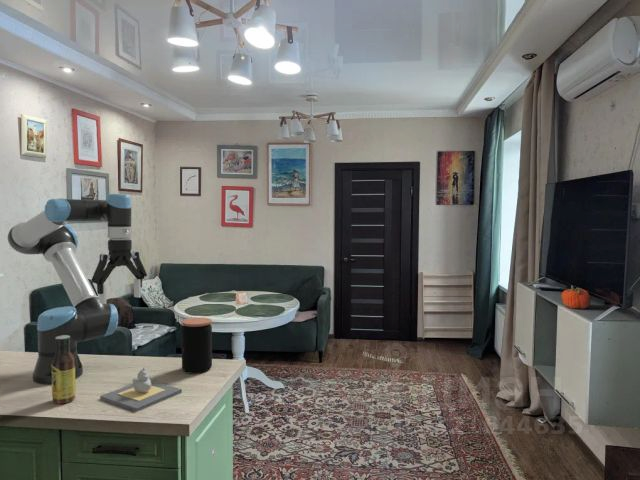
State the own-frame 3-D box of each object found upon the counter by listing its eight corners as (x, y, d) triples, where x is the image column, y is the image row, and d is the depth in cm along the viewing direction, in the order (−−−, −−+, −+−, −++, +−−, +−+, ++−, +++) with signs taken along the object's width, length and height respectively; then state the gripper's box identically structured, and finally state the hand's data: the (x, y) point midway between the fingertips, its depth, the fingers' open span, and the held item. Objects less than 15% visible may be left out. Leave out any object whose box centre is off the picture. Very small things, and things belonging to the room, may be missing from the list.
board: (100, 399, 142) (100, 395, 142) (146, 381, 157) (146, 378, 157) (136, 411, 134) (136, 407, 134) (181, 392, 148) (181, 388, 148)
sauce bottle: (53, 398, 143) (51, 334, 141) (76, 395, 145) (75, 332, 144) (51, 406, 137) (49, 340, 135) (75, 403, 139) (73, 338, 138)
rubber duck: (143, 396, 142) (143, 370, 141) (127, 392, 144) (126, 367, 144) (156, 390, 147) (156, 365, 146) (140, 386, 149) (139, 362, 149)
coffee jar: (192, 363, 177) (191, 316, 176) (217, 365, 174) (217, 318, 173) (176, 372, 167) (175, 322, 166) (202, 375, 164) (202, 325, 163)
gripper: (92, 241, 147) (94, 307, 148) (156, 237, 169) (157, 295, 170) (78, 240, 151) (80, 305, 152) (142, 237, 172) (143, 293, 174)
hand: (120, 300), depth 161 cm, fingers open, 13 cm apart
